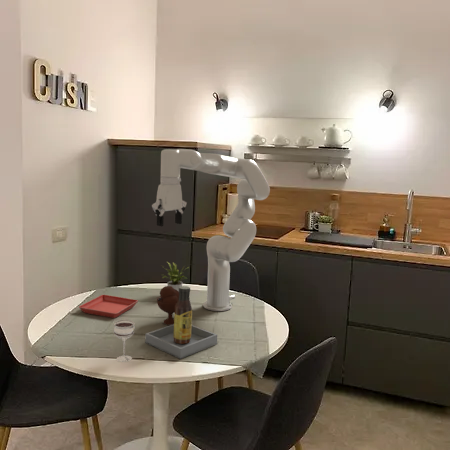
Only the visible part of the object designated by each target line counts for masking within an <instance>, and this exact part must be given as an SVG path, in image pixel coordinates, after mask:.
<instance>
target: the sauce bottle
mask: <svg viewBox="0 0 450 450" xmlns="http://www.w3.org/2000/svg"><path fill="white" fill-rule="evenodd" d="M190 292H191V287H190V286H187V285H182V286H180V287H179V300H178V302H177V304H176V306H175V313H174V314H173V315H174V317H173V319H174V336H173V337H174V342H175V343H178V344H186V343H189V342H190V340H191V327H192V325H193V322H192V321H193V308H192V303H191V300H190V297H191V296H190Z"/></svg>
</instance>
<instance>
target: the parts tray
mask: <svg viewBox="0 0 450 450" xmlns="http://www.w3.org/2000/svg"><path fill="white" fill-rule="evenodd" d="M144 335H145V338H144V339H145V340H144V343H145V344H147V345H149V346H151V347H153V348H155V349H158V350H159V351H162V352H165V353H166V354H169V355H171V356H172V357H175V358H177V359H179V360H182V359H184V358H186V357H189V356H191V355H194V354H196V353H198V352H201V351H203V350H206V349H208V348H211V347H212V346H215V345H218V334H216V333H214V332H211V331H210V330H209V331H208V330H206V329H205V328H202V327H200V326H199V327H198V326H197V325H193V324H192V327H191V340H190V342H189V343H186V344H178V343H175V342H174V337H173V336H174V324H173V325H166V326H165V327H161V328H157V329H155V330H151V331H150V332H146V333H145V334H144Z"/></svg>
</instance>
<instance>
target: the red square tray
mask: <svg viewBox="0 0 450 450" xmlns="http://www.w3.org/2000/svg"><path fill="white" fill-rule="evenodd" d="M138 302H139V300H138V299H134V298H126V297H121V296H115V295H107V294H101V295H99V296H96V297H95V298H93V299H91V300H89V301H87V302H85V303H84V304H83V303H82V304H81V305H79V306H78V308H79V310H81V312H83V313H85V314H89V315H90V314H91V315H96V316H101V317H106V318H112V319H116V318H118V317H119V316H121V315H122V314H124V313H126V312H127V311H129V310H131V309H133V307H135V305H136V304H137V303H138Z"/></svg>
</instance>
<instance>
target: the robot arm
mask: <svg viewBox="0 0 450 450" xmlns="http://www.w3.org/2000/svg"><path fill="white" fill-rule="evenodd" d="M181 169H185V170H191V171H197V172H202V173H205V174H209V175H217V176H222V177H228V178H233V179H239V182H238V183H237V186H236V194H237V198H238V199H237V204H236V207H235V208H234V209H233V211H232V212H231V213H230V215H229V217H228V218H227V219H226V221H225V222H224V224H223V226H222V232H223V233H224V235H225V236H223V235H219V234H218V235H217V234H216V235H213V236H211V237H210V238H209V239H208V241H207V242H206V255H207V283H206V284H207V287H206V288H207V289H206V291H207V292H206V300H205V301H204V302H203V303H202V304H203V305H202V306H203V308H204V309H206V310H208V311H214V312H224V311H229V310H231V308H233V307H232V306H233V304H232V303H231V300H234V299H236V296H235V294H230V279H231V278H230V277H231V276H230V275H231V274H230V273H231V266H230V263H235V262H238V261H239V260H240V259H241V258H242V257H243V256H244V254H245V253H246V251H247V249H248V248H249V246H250V245H251V244H252V243H253V241H254V239H255V237H256V235H257V226H256V225H257V224H256V223H255V222H254V221H252V218H253V217H254V215H255V213H256V205H255V204H256V203H255V200H257V201H264V200H266V199H267V198H268V197H269V196H270V192H271V188H270V184H269V182H268V180H267V179H266V177H265V175H264V173H263V172H262V170H261V168H260V167H259V166H258V164H257V162H255V161H254V160H253V159H248V158H238V157H233V156H230V155H229V156H228V155H224V154H219V153H205V152H198V151H196V150H194V149H190V148H189V149H186V148H177V149H174V148H173V149H172V148H171V149H170V148H168V149H167V148H166V149H165V148H164V149H162V150H161V153H160V184H158V187H157V192H156V201H155V202H154V203H152V204H151V208H152V211H153V213H154V214H155V215H154V216H156V226H158V227H164V214H165V212H169V211H172V212H173V211H175V215H174V217H175V218H174V223H175V224H177V225H181V224H183V223H182V222H183V221H182V219H183V214H184V211H185V209H186V207H187V203H188V202H187V201H185V200H183V191H182V185H181V182H182V178H181ZM240 179H241V180H240Z"/></svg>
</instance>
